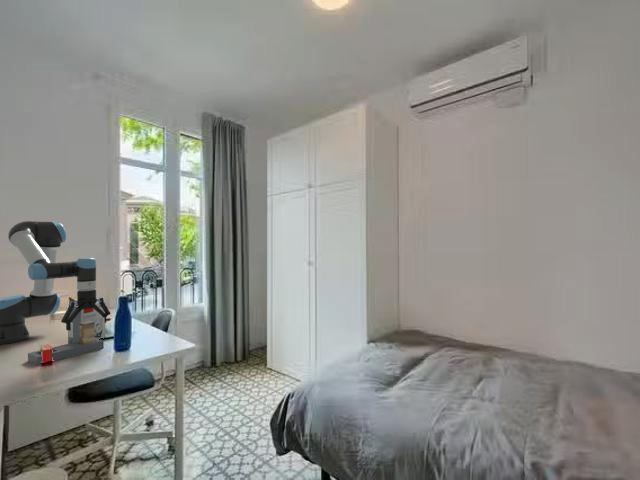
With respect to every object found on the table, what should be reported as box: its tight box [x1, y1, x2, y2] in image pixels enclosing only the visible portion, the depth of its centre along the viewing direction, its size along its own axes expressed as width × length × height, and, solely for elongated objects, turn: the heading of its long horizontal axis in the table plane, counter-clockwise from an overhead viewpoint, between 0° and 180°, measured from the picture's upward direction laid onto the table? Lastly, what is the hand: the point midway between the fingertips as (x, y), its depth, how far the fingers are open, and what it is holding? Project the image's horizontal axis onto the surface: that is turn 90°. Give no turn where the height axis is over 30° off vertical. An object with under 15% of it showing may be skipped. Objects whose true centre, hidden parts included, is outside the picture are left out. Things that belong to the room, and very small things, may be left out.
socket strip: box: [27, 338, 105, 366], centre depth 152 cm, size 10×26×4 cm, turn 148°
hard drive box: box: [67, 301, 107, 344], centre depth 171 cm, size 16×8×20 cm, turn 168°
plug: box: [79, 321, 95, 345], centre depth 159 cm, size 5×5×13 cm
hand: (87, 333), depth 159 cm, fingers open, 13 cm apart
